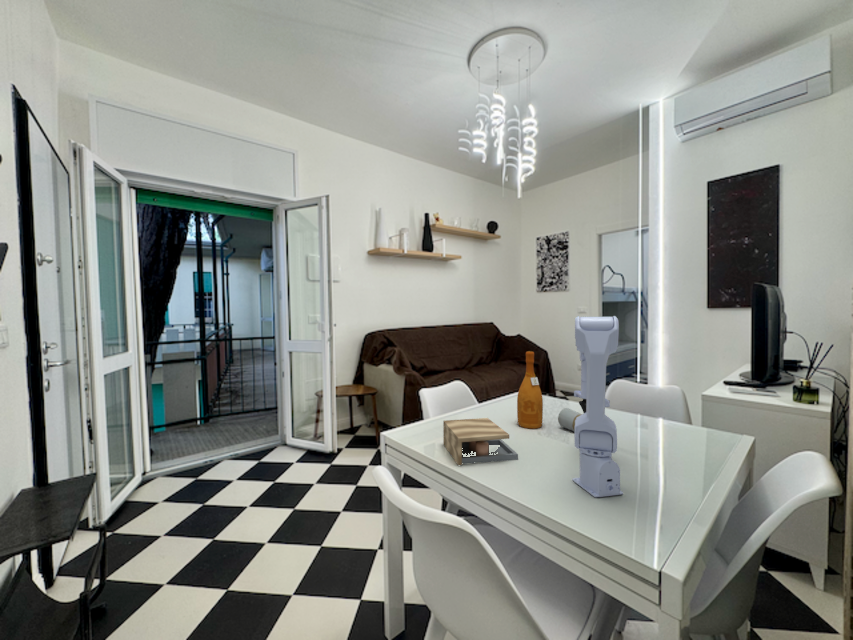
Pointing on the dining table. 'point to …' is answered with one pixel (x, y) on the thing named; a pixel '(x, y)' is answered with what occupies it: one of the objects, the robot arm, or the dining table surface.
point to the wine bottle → (530, 398)
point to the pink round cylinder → (482, 448)
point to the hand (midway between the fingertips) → (590, 424)
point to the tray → (503, 453)
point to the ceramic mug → (568, 418)
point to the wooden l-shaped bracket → (469, 434)
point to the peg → (472, 446)
